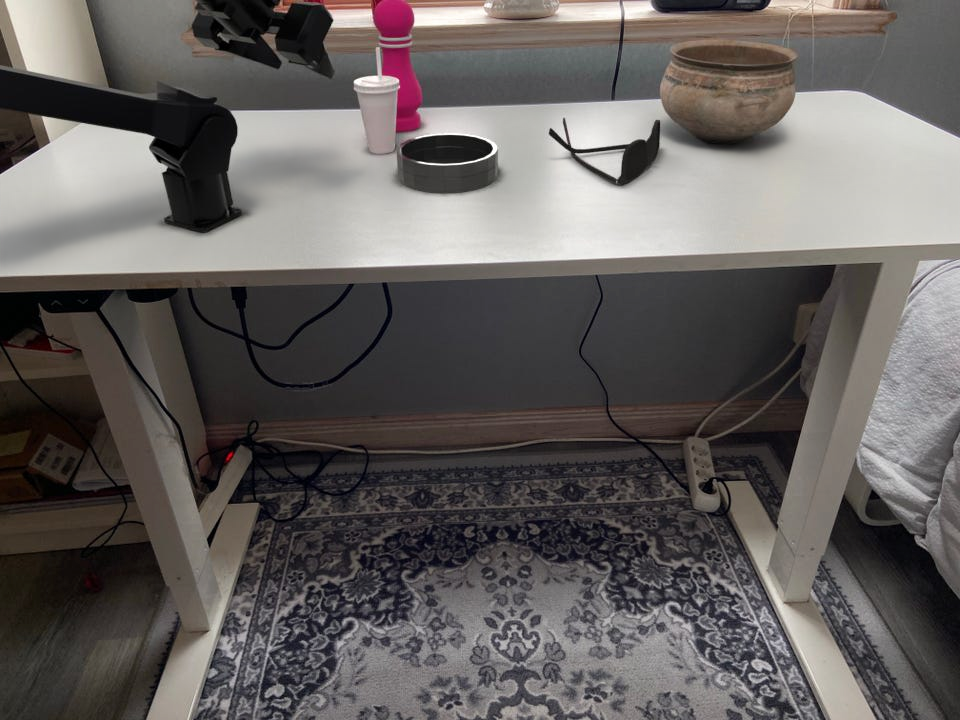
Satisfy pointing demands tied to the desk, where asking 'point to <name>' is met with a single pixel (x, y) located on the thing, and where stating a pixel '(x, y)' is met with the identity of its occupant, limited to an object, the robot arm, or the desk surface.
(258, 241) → the desk surface
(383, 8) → the pepper mill
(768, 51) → the cooking pot
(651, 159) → the sunglasses
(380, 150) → the smoothie
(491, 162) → the pan
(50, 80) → the robot arm
